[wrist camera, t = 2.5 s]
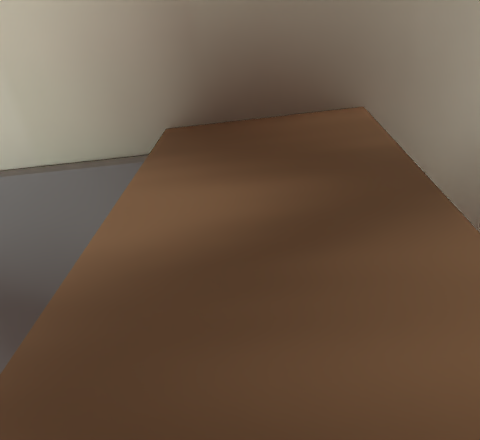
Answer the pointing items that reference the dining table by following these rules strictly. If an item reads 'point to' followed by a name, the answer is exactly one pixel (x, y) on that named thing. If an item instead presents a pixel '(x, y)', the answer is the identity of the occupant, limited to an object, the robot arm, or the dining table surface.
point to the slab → (262, 298)
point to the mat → (49, 233)
